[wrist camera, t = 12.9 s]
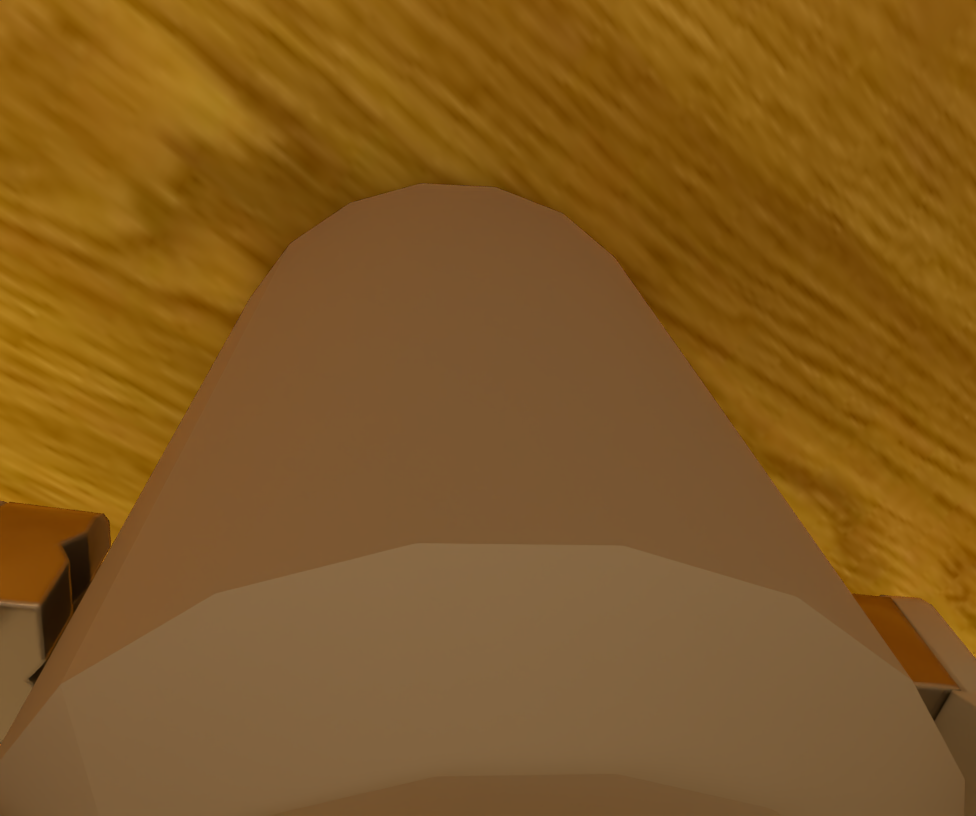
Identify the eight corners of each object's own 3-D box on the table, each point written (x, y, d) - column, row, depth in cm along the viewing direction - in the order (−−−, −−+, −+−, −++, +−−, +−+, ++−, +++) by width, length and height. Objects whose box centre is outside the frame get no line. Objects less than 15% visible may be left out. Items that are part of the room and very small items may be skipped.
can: (436, 596, 18) (454, 1505, 7) (155, 366, 15) (-513, 1310, 4) (721, 383, 16) (1323, 1187, 5) (461, 71, 13) (629, 449, 2)
